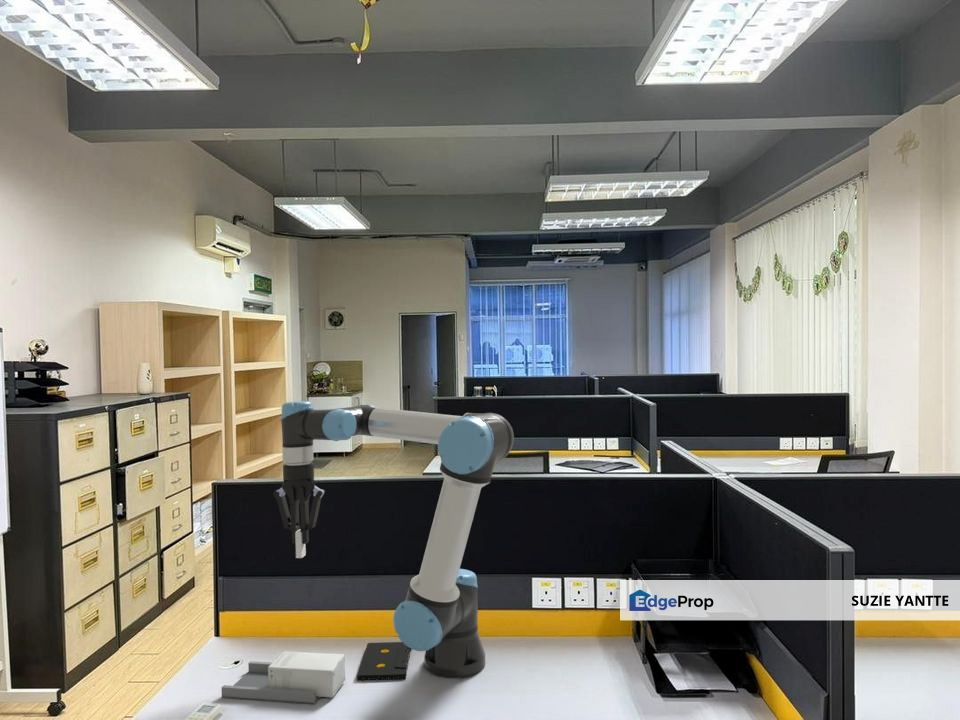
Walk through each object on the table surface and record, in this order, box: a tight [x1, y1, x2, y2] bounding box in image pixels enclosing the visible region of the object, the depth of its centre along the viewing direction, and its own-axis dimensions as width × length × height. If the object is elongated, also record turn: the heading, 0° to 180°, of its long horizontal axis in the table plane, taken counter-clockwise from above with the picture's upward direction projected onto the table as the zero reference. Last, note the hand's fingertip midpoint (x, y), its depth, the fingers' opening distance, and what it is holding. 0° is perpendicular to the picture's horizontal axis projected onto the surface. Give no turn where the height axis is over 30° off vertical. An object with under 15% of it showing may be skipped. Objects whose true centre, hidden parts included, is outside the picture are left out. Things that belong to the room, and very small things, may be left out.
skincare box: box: [268, 650, 346, 698], centre depth 152 cm, size 8×7×16 cm
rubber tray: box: [221, 660, 321, 706], centre depth 154 cm, size 22×13×2 cm, turn 81°
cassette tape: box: [356, 641, 411, 682], centre depth 165 cm, size 18×12×2 cm, turn 1°
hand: (300, 556), depth 167 cm, fingers closed
